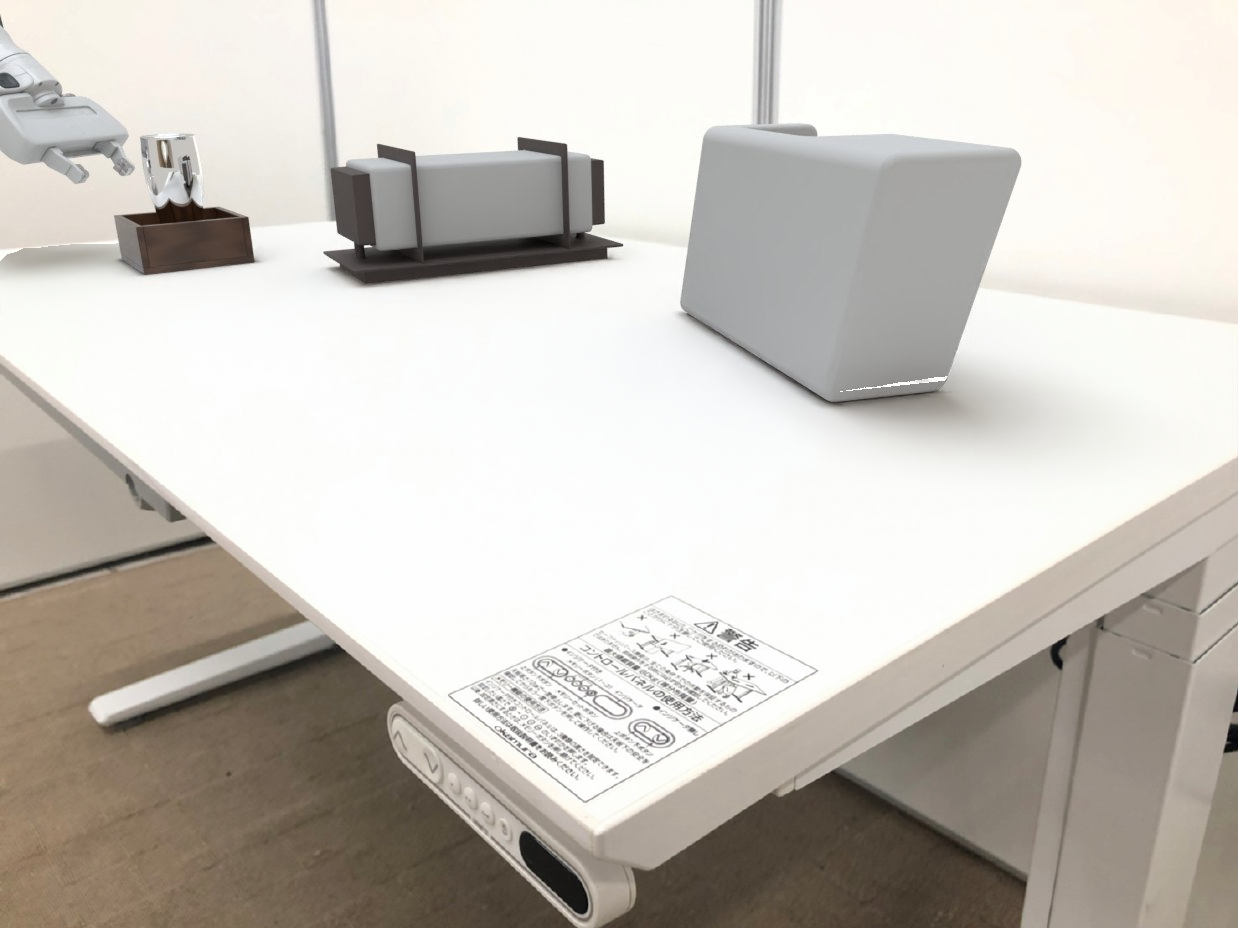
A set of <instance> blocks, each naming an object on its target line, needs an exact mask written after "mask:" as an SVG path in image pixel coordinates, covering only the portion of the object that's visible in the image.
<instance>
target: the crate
mask: <svg viewBox="0 0 1238 928" xmlns="http://www.w3.org/2000/svg"><path fill="white" fill-rule="evenodd" d="M113 219H114V224H115V229H116V236H117V241H118V247H119V251H120V258H121V260H122V261H123V262H124V263H126V264H128V265H130V266H131V267H132V268H134V269H136V270H137V271H138V272H140V273H141V274H143V275H152V274H161V273H163V274H164V273H170V272H171V273H172V272H180V271H188V270H196V269H197V270H198V269H206V268H216V267H223V266H232V265H234V266H235V265H242V264H251V263H255V262H256V261H255V255H254V248H253V247H254V245H253V240H252V233H251V225H250V218H249V216H246V215H244V214H241V213H239V212H235V211H233V210H230V209H227V208H224V207H222V206H208V207H207V206H206V207H203V220H200V221H189V222H178V223H166V224H159V220H158V217H157V214H156V211H149V212H148V211H147V212H137V213H135V212H134V213H126V214H113Z"/></svg>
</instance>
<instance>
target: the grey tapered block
mask: <svg viewBox="0 0 1238 928" xmlns="http://www.w3.org/2000/svg"><path fill="white" fill-rule="evenodd" d="M1021 168H1022V157H1021V154H1020V152H1018V151H1017V150H1016V149H1015V148H1013V147H1007V146H998V145H989V144H982V143H974V142H973V143H972V142H964V141H956V140H955V141H954V140H947V139H940V138H939V139H938V138H929V137H920V136H911V135H905V134H895V133H875V134H874V133H873V134H851V135H849V134H848V135H846V134H845V135H820V136H818V130H817V128H816V127H815V126H814V125H813V124H811V123H810V124H809V123H801V122H789V123H761V124H759V123H758V124H729V125H728V124H727V125H725V124H724V125H713V126H711V127H709V128H708V129H707V130H706V131H705V132H704V135H703V137H702V144H701V150H700V158H699V166H698V172H697V178H696V179H697V180H696V186H695V192H694V193H695V194H694V201H693V206H692V214H691V223H690V229H689V236H688V243H687V251H686V257H685V265H684V273H683V280H682V285H681V293H680V301H679V305H680V308H681V310H682V311H683V312H685V313H687V314H688V315H690V316H692V317H694V318H695V319H697V320H698V321H699V322H702V323H703V324H704V325H706V326H707V327H709V328H711V329H712V330H714V331H715V332H717V333H719V334H720V335H723V336H724V337H725V338H726V339H728V340H729V341H732V342H733V343H735V344H736V345H738V346H740V347H741V348H742V349H745V351H747V352H749V353H751V354H752V355H754V356H756V357H757V358H759V359H760V360H762V361H763V362H765V363H767V364H768V365H770V366H772V368H773V367H774V368H775V369H776V370H778V371H779V372H782V373H783V374H784V375H786V376H788V377H789V378H790V379H792V380H794V381H796V382H797V383H799V384H800V385H802V386H803V387H805V388H806V389H808V390H810V391H811V392H813V393H815V394H816V395H818V396H820V398H822V399H825V400H826V401H828V402H831V403H839V402H848V401H849V402H850V401H856V400H858V401H859V400H866V399H867V400H869V399H876V398H884V397H885V398H887V397H895V396H904V395H914V394H923V393H932V392H935V391H937V390H940V389H941V387H943V386H944V385H945V384H946V382H947V380H945V381H938V382H929V383H919V384H910V385H900V386H891V387H881V388H872V389H862V390H853V391H846V390H852V389H858V388H859V389H860V388H864V387H865V388H866V387H877V386H883V385H887V384H893V383H898V382H908V381H909V382H910V381H915V380H922V379H928V378H934V377H945V376H948V377H949V374H950V372H951V369H952V365H953V363H954V360H955V357H956V354H957V352H958V348H959V345H960V343H961V340H962V337H963V334H964V331H965V329H966V325H967V322H968V319H969V316H970V314H971V312H972V308H973V305H974V302H975V300H976V298H977V294H978V291H979V288H980V285H981V282H982V280H983V277H984V274H985V272H986V268H987V266H988V263H989V259H990V257H991V254H992V252H993V248H994V245H995V243H996V239H997V236H998V234H999V231H1000V228H1001V225H1002V222H1003V220H1004V217H1005V214H1006V211H1007V208H1008V205H1009V202H1010V199H1011V197H1012V195H1013V194H1012V193H1013V191H1014V188H1015V186H1016V182H1017V179H1018V176H1019V174H1020V171H1021ZM840 391H843V392H840Z"/></svg>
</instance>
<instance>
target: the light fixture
mask: <svg viewBox="0 0 1238 928" xmlns="http://www.w3.org/2000/svg"><path fill="white" fill-rule="evenodd" d="M516 139H517V150H500V151H483V152H465V153H463V152H462V153H447V154H427V155H416V152H415V151H413V150H409V149H405V148H400V147H395V146H391V145H386V144H381V143H377V144H376V152H377V157H373V158H369V157H368V158H354V159H353V158H351V159H348V160H347V161H346V162H345V166H336V167H335V166H334V167H330V178H331V187H332V196H333V197H332V198H333V206H334V215H335V216H334V217H335V224H336V233H337V234H338V235H340V236H341V237H343V238H345V239H347V240H349V241H350V242H352V243H353V248H345V249H334V250H325V251H323V252H322V253H323V255H324V256H326V257H327V258H328V259H331V260H333V261H334V262H336V263H337V264H339V268H340V269H341V270H343V271H345V272H346V273H347V274H349V275H351V277H354V278H355V279H357V280H358V281H360V282H361V283H363V284H365V285H372V284H380V283H389V282H400V281H410V280H419V279H420V280H421V279H428V278H438V277H447V276H457V275H466V274H474V273H475V274H477V273H485V272H495V271H496V272H497V271H504V270H514V269H525V268H532V267H533V268H534V267H542V266H543V267H544V266H552V265H561V264H573V263H581V262H591V261H600V260H608V249H613V248H622V247H624V243H622V242H618V241H614V240H611V239H608V238H604V237H601V236H597V235H595V234H591V233H590V232H591V231H592V230H593V226H599V225H604V224H606V206H605V204H606V202H605V161H604V159H599V158H592V157H591V156H590V155H589V154H587V153H580V152H574V151H568V143H565V142H558V141H552V140H551V141H549V140H543V139H537V138H529V137H521V136H517V138H516ZM365 246H368V247H365Z"/></svg>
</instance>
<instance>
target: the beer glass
mask: <svg viewBox="0 0 1238 928" xmlns="http://www.w3.org/2000/svg"><path fill="white" fill-rule="evenodd" d="M139 141H140V151H141V162H142V170H143V174H144V175H143V176H144V179H145V183H146V187H147V190H148V194H149V197H150V199H151V203H152V205H153V208H154V212H156V214H157V217H158V220H159V224H166V223H178V222H189V221H200V220H203V208H204V176H203V174H204V173H203V166H202V160H201V155H200V151H199V147H198V143H197V139H196V134H194V133H160V134H159V133H157V134H144V135H140V136H139Z"/></svg>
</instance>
